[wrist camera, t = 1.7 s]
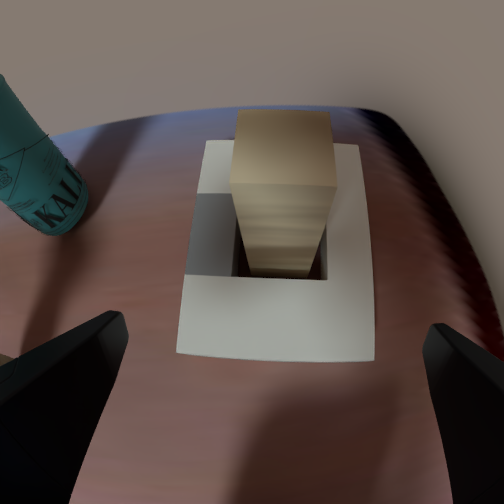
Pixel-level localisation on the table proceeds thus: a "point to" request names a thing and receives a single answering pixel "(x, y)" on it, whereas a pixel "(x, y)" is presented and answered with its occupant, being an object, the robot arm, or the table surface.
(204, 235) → the block
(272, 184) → the plug
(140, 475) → the table surface
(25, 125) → the beverage bottle
